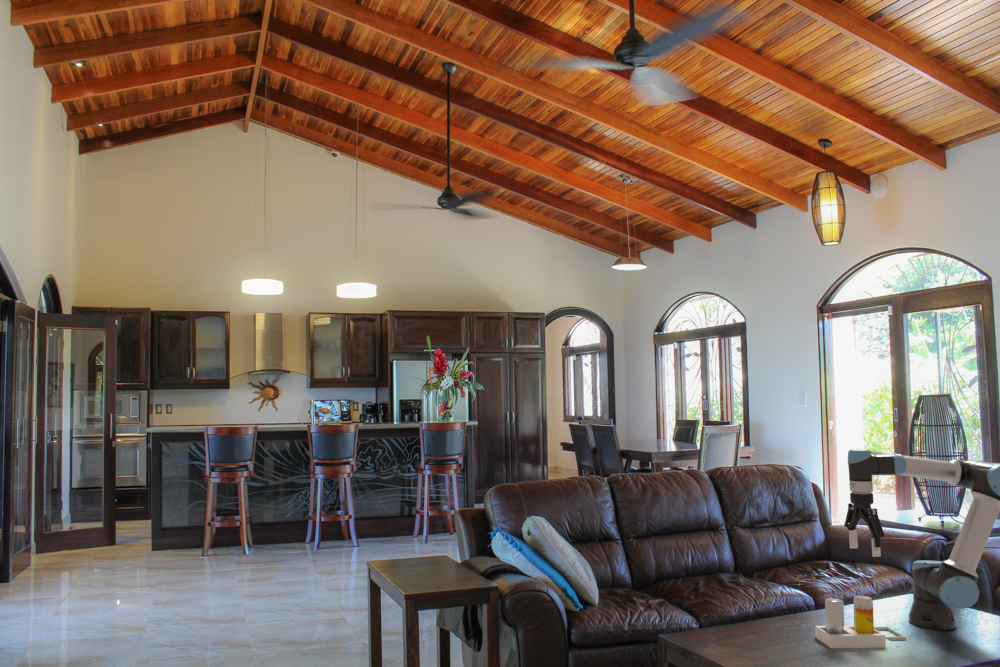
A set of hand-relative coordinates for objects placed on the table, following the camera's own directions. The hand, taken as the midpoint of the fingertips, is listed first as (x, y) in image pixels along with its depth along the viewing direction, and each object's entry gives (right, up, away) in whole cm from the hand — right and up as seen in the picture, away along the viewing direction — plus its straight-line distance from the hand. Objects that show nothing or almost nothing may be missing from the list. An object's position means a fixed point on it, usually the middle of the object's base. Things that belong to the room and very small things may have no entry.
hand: (865, 552), depth 270 cm
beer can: (-5, -28, -11) cm, 30 cm away
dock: (-11, -28, -11) cm, 32 cm away
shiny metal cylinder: (-16, -28, -12) cm, 34 cm away
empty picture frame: (+5, -29, -2) cm, 30 cm away
